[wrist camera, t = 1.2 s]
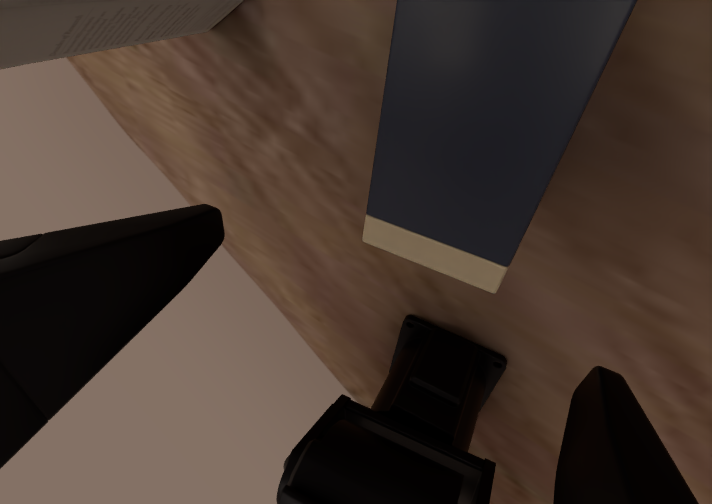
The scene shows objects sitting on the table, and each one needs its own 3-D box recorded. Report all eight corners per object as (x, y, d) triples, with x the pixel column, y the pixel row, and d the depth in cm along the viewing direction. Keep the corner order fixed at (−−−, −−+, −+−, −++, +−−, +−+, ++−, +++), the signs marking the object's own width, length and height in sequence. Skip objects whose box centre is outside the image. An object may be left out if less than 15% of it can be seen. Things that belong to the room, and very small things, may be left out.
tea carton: (523, 207, 17) (495, 295, 13) (420, 174, 19) (361, 241, 14) (703, -190, 10) (800, -337, 5) (506, -194, 11) (439, -311, 6)
